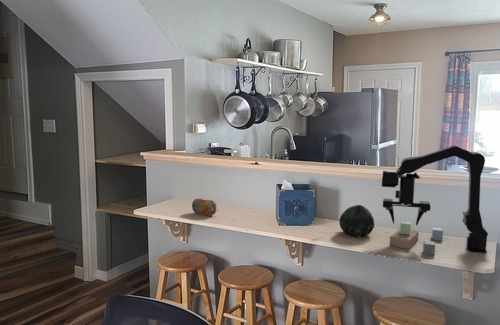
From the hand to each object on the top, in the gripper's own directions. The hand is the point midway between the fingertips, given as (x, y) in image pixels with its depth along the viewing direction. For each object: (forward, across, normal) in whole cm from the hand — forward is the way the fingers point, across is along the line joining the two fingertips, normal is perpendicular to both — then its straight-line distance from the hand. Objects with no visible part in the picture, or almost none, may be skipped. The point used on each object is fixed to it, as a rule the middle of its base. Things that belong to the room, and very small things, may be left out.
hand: (404, 224), depth 185 cm
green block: (+4, 0, 0) cm, 4 cm away
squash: (+8, +20, -5) cm, 22 cm away
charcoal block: (+8, -9, +11) cm, 16 cm away
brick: (+9, 0, 0) cm, 9 cm away
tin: (+8, +99, -14) cm, 100 cm away
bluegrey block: (+8, -14, -10) cm, 19 cm away
